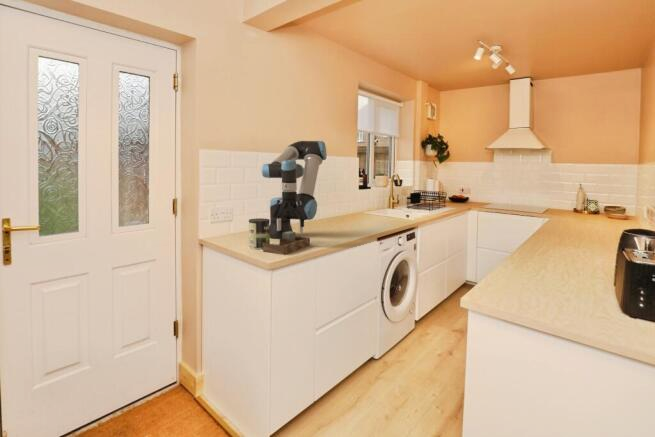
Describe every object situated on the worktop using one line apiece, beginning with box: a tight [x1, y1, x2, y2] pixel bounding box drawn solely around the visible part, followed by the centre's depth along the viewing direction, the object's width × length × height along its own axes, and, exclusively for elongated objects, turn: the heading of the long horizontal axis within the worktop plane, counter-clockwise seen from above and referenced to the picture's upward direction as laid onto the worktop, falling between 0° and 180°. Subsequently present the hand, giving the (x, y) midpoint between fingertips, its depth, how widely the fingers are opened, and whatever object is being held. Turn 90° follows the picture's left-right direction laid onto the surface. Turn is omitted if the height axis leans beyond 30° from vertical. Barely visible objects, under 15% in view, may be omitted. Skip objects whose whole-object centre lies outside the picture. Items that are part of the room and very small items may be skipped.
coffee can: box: [248, 217, 271, 250], centre depth 184 cm, size 10×10×14 cm
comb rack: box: [262, 235, 311, 256], centre depth 182 cm, size 23×12×4 cm, turn 152°
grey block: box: [282, 231, 296, 240], centre depth 189 cm, size 6×4×7 cm, turn 152°
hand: (289, 231), depth 189 cm, fingers open, 13 cm apart
